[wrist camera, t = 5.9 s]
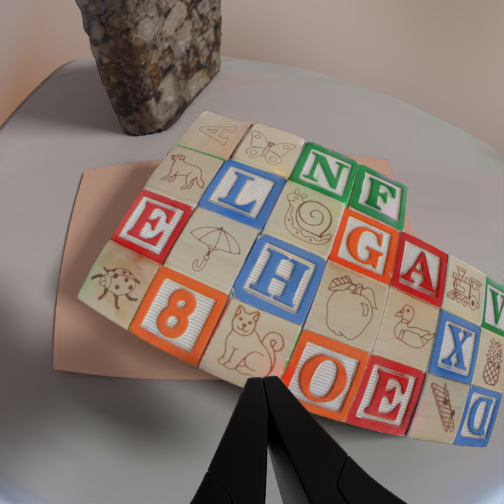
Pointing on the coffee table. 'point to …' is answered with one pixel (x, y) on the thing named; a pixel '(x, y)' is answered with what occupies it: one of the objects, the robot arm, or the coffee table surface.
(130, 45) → the stone block
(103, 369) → the mat
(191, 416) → the coffee table surface
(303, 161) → the stack of blocks
